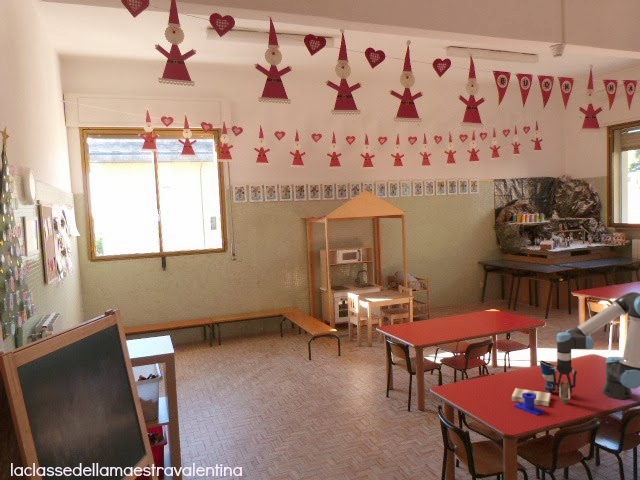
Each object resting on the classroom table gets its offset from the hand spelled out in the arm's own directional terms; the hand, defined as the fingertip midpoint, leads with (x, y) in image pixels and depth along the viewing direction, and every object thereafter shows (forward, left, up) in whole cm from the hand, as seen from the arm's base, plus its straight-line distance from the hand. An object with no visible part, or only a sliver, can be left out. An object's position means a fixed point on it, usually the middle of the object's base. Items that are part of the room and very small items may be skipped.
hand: (564, 397), depth 282 cm
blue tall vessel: (+10, -13, -3) cm, 17 cm away
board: (+18, +3, -3) cm, 19 cm away
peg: (0, 0, -3) cm, 3 cm away
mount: (+17, +19, -4) cm, 26 cm away
